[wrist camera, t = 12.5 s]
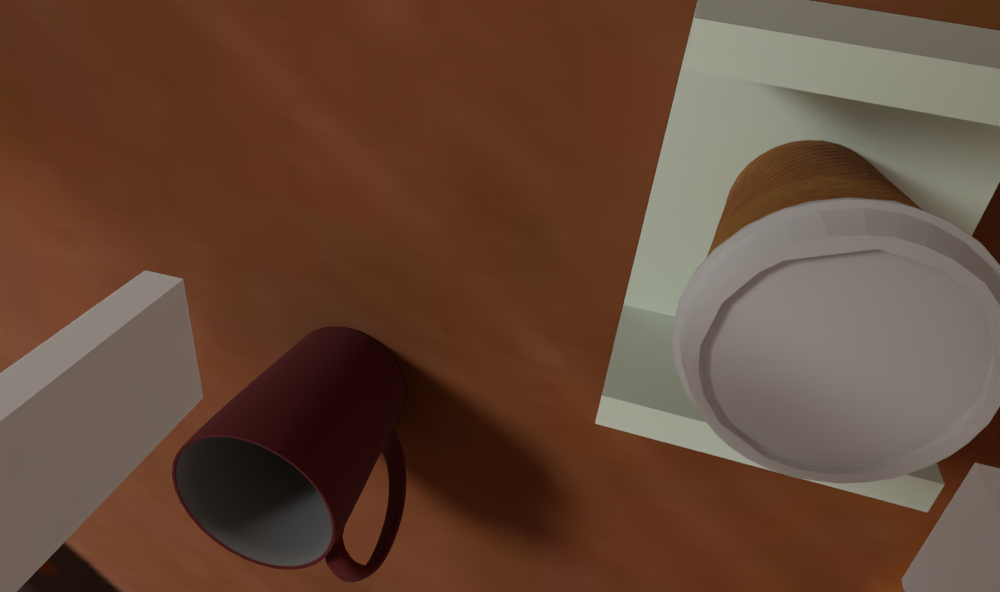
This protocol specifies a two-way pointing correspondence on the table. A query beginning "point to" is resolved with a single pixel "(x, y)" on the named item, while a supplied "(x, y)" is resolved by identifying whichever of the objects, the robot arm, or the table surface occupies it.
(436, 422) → the table surface
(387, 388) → the mug
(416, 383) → the table surface
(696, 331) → the disposable coffee cup
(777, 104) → the holder
